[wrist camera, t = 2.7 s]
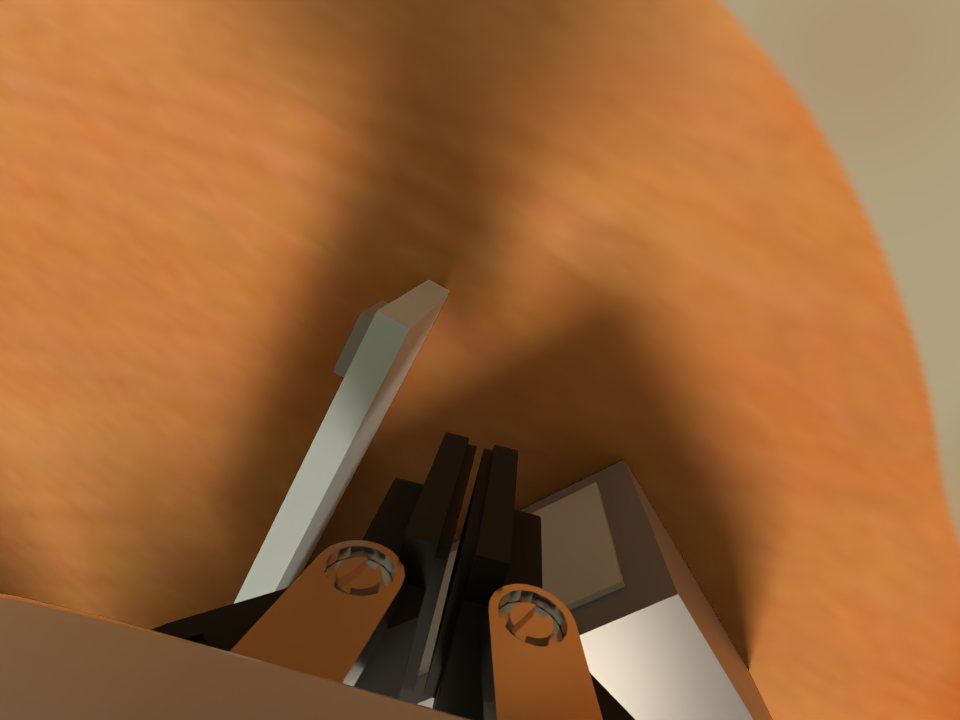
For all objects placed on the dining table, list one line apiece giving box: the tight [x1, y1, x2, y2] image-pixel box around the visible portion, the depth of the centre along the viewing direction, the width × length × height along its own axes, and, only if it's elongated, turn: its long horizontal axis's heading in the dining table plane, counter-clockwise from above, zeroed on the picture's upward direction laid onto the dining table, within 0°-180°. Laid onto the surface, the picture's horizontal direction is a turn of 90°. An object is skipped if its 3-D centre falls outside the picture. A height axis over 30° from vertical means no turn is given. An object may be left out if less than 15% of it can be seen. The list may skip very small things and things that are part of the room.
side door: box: [234, 279, 450, 604], centre depth 14 cm, size 14×2×5 cm, turn 152°
